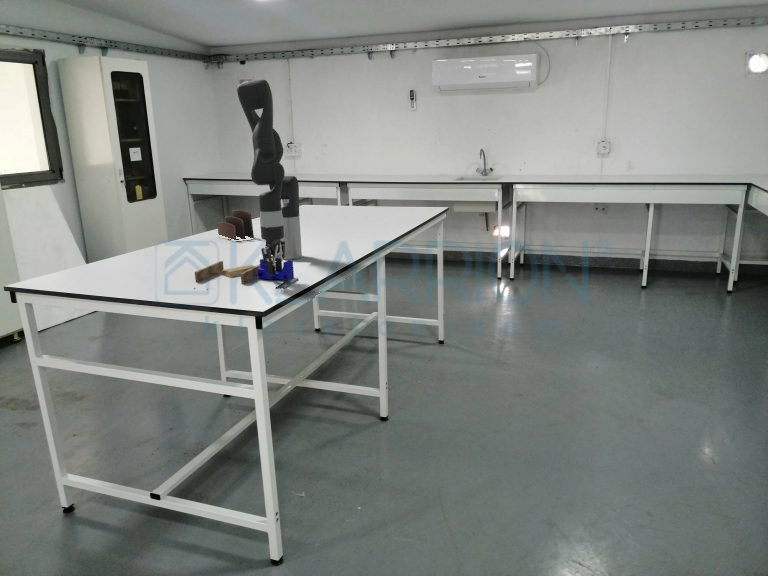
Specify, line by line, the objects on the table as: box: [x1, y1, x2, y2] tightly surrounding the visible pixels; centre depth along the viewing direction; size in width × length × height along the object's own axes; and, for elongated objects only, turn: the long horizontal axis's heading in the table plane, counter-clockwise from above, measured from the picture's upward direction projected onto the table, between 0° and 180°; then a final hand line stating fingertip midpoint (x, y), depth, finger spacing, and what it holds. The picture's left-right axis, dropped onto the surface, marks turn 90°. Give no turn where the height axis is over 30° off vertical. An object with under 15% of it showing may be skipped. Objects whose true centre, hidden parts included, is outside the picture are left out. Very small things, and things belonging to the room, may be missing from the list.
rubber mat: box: [275, 277, 299, 289], centre depth 189 cm, size 12×11×1 cm
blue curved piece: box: [257, 258, 295, 281], centre depth 187 cm, size 12×4×6 cm, turn 60°
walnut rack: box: [194, 260, 260, 285], centre depth 193 cm, size 17×18×5 cm
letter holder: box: [217, 209, 255, 240], centre depth 277 cm, size 10×20×14 cm, turn 41°
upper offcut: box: [221, 264, 256, 278], centre depth 198 cm, size 5×11×2 cm, turn 135°
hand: (275, 273), depth 188 cm, fingers closed on blue curved piece, 5 cm apart
